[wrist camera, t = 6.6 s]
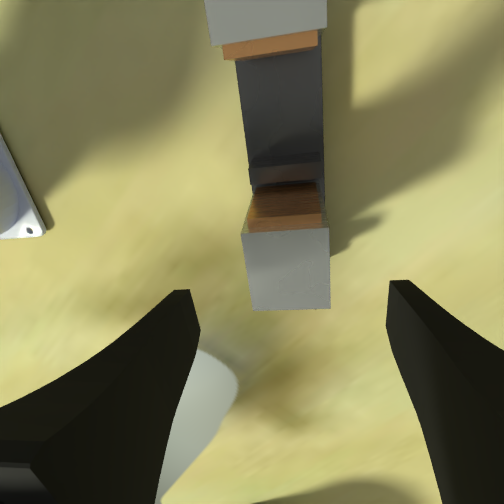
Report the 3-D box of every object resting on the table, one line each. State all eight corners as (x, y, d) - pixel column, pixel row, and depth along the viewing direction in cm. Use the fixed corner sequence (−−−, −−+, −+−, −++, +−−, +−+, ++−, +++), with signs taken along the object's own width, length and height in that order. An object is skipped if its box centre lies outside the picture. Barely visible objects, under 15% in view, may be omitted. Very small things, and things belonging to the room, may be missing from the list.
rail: (324, 260, 22) (337, 341, 16) (265, 263, 23) (254, 342, 16) (314, -118, 13) (334, -288, 7) (219, -96, 14) (155, -233, 8)
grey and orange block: (263, 247, 20) (253, 310, 15) (254, 178, 18) (239, 224, 13) (321, 244, 20) (330, 308, 15) (318, 172, 18) (329, 218, 13)
